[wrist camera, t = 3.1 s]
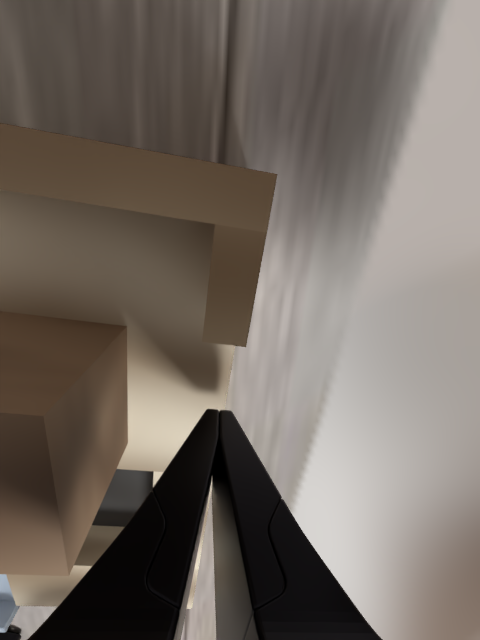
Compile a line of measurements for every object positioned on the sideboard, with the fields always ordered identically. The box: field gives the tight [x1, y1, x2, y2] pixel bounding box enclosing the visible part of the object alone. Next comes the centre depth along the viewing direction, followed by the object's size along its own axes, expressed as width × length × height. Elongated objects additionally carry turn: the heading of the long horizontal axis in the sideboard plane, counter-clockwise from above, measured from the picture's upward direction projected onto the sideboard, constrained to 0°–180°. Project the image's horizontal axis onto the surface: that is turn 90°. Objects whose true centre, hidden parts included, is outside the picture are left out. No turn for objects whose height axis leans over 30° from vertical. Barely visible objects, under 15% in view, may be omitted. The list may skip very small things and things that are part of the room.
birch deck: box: [0, 123, 277, 609], centre depth 10 cm, size 22×16×4 cm
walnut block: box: [0, 311, 128, 576], centre depth 7 cm, size 5×5×4 cm
